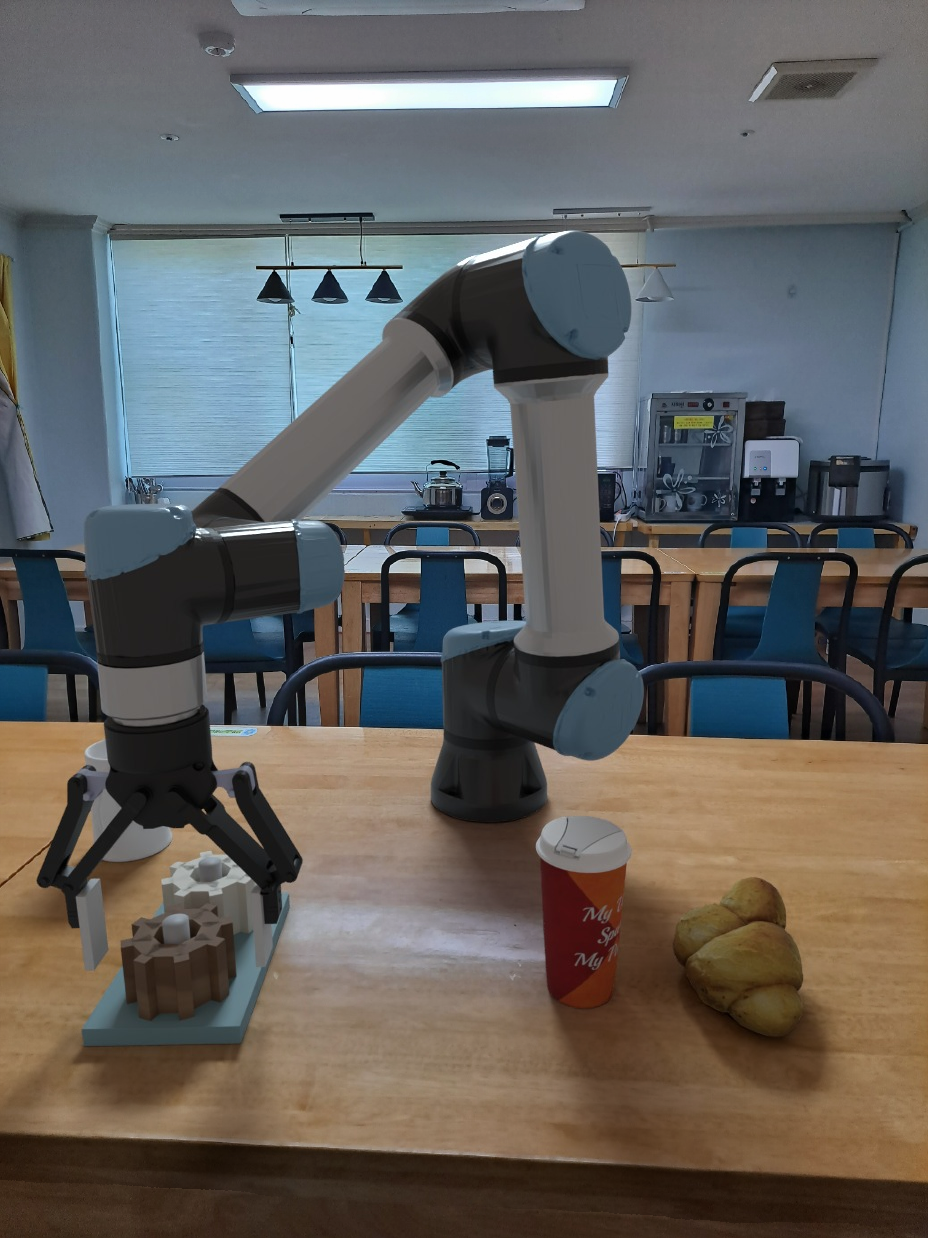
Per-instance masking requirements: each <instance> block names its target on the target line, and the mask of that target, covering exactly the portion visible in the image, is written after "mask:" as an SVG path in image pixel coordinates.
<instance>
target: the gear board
mask: <svg viewBox="0 0 928 1238" xmlns="http://www.w3.org/2000/svg"><path fill="white" fill-rule="evenodd" d="M198 866H199V878H200V882H213V881H216V880H218V879H221V878H222V866H221V859H220V858H218V857H208V858H204V859H202V860H201V861H200V862H199V863H198ZM281 895H282V911H281V914H280V916H279V919H278V922H277V924H271V927H272V941H273V947H272V950H271V953H270V956H269V959H268V961H267V964H266V967H256V959H255V946H254V933H253V930H252V931H251V932H250V933H249V934H247V933H243V932H239V933H237V934H235V935H234V948H235V961H236V974H237V977H233V978H229V979H228V982H229V995H228V996H227V997H226V998H225V999H224V1000H223V1001H222V1002H221V1003H220V1002H216V1001H213V1000H211V1001H209V1002H207V1003H205V1004H203V1005H201V1006H199V1007H197V1008H196V1009H194V1017H192V1018H188V1019H185V1020H181V1021H180V1020H179V1014H158V1015H157V1016H156V1017H155V1018H154V1019H153V1020H151V1021H148V1020H144V1019H141V1018H139V1011H138V1002H135V1003H131V1004H127V1002H126V993H125V983H124V974H123V965H122V964H121V965H122V966H120V968H119V970H118V971H117V973H116V974H115V976H114V978H113V979H112V980H111V983H110V984H109V986H108V987H107V988H106V990H105V992H104V993H103V995H102V997H101V998H100V1000H99V1001H98V1003H97V1004H96V1006H95V1007H94V1009H93V1010H92V1012H91V1014H90V1015H89V1017H88V1019H87V1020H86V1022H85V1023H84V1024H83V1026H82V1027H81V1034H82V1043H83V1044H82V1045H83V1047H106V1046H107V1047H110V1046H111V1047H114V1046H115V1047H117V1046H121V1047H123V1046H163V1045H164V1046H166V1045H167V1046H170V1045H171V1046H172V1045H173V1046H174V1045H218V1044H219V1045H224V1044H226V1045H228V1044H232V1045H233V1044H242V1042H243V1040H244V1036H245V1034H246V1030H247V1028H248V1025H249V1022H250V1019H251V1017H252V1014H253V1011H254V1009H255V1005H256V1003H257V1000H258V998H259V994H260V992H261V989H262V986H263V983H264V980H265V977H266V974H267V972H268V968H269V966H270V963H271V960H272V957H273V954H274V952H275V949H276V946H277V944H278V941H279V937H280V935H281V931H283V930H282V929H283V926H284V925H285V920H286V917H287V915H288V913H289V910H290V907H291V905H290V902H291V901H290V892H281ZM161 914H164V904H163V901H162V902H161V904H160V905H159V907H158V909H157V910H156V912H155V914H154V915H153V917H152V918H154V917H157V916H159V915H161ZM162 926H163V937H164V944H180V943H182V942H184V941H187V940H189V939H190V929H189V918H188V916H187V915H185V914H174V915H170V916H168V917H167V918H165V919H164V920H163V922H162Z"/></svg>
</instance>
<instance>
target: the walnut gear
mask: <svg viewBox="0 0 928 1238" xmlns="http://www.w3.org/2000/svg"><path fill="white" fill-rule="evenodd" d="M174 914H185V915H187V916H188V918H189V929H190V939H189V940H187V941H184V942H182V943H180V944H164V937H163V926H162V922H163V920H164V919H165V918H167V917H168V916H170V915H174ZM153 917H154V916H153ZM153 917H151V918H146V917H141V916H140V918H138V919H136V921H134V922H133V923H131V931H132V933H131V934H132V937H130V938H127V939H122V940H120V954H121V965H123V974H124V983H125V993H126V1002H127V1004H131V1003H135V1002H138V1011H139V1018H141V1019H144V1020H148V1021H151V1020H153V1019H154V1018H155V1017H156V1016H157V1015H158V1014H179V1020H180V1021H181V1020H185V1019H188V1018H192V1017H194V1009H196V1008H197V1007H199V1006H201V1005H203V1004H205V1003H207V1002H209V1001H211V1000H213V1001H216V1002H220V1003H221V1002H222V1001H223V1000H224V999H225V998H226V997H227V996H228V995H229V982H228V979H229V978H233V977H237V974H236V961H235V948H234V934H233V922H232V918H231V916H227V917H223V918H219V917H218V910H217V905H213V904H209V903H206V904H205V905H204V906H202V907H201V908H200V909H181V903H180V904H176V905H171V906H167V912H166V913H164V914H161V915H159V916H157V917H154V918H153Z"/></svg>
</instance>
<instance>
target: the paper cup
mask: <svg viewBox="0 0 928 1238" xmlns="http://www.w3.org/2000/svg"><path fill="white" fill-rule="evenodd" d="M535 849H536V852H537V855H538V856H539V862H540V866H539V867H540V880H541V881H540V884H541V901H542V902H541V903H542V905H541V906H542V921H543V922H542V923H543V925H542V926H543V941H544V942H543V944H544V961H545V976H546V977H545V978H546V985H547V989H548V992H549V994H550V995H551V997H552V998H553V999H555V1000H556V1001H557V1002H559V1003H561V1004H562V1005H564V1006H566V1007H570V1008H575V1009H582V1010H586V1009H595V1008H598V1007H601V1006H603V1005H605V1004H607V1003H608V1002H609V1001H610V999H611V998H612V996H613V993H614V988H615V983H616V974H617V966H618V956H619V945H620V938H621V937H620V935H621V926H622V918H623V917H622V915H623V907H624V905H623V904H624V895H625V884H626V876H627V875H626V874H627V865H628V864H627V863H628V862H629V861H630V860H631V857H632V848H631V845H630V844H629V842H628V838H627V835H626V833H625V831H624V830H623V829H622V828H621V827H619V826H618V825H617V824H615V823H614V822H612V821H609V820H607V819H604V818H600V817H595V816H589V815H567V816H560V817H557V818H555V819H553V820H551V821H548V822H547V823H546V824H545V826H543V828H542V830H541V833H540V836H539V837H538V839H537V841H536V843H535Z"/></svg>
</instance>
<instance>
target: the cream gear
mask: <svg viewBox="0 0 928 1238" xmlns="http://www.w3.org/2000/svg"><path fill="white" fill-rule="evenodd" d="M208 857H218V858H220V859H221V866H222V878H221V879H218V880H216V881H213V882H200V878H199V866H198V863H199V862H200V861H201V860H202V859H204V858H208ZM169 876H170V877H165V878H161V879H160V882H161V890H162V902H163V904H164V913H166V912H167V906H171V905H176V904H180V903H181V909H200V908H201V907H202V906H204V905H205V904H206V903H209V904H213V905H217V910H218V917H219V918H223V917H227V916H231V918H232V922H233V934H234V935H235V934H237V933H239V932H243V933H247V934H249V933H250V932H251V931H252V930H253V919H252V906H251V891H252V889H253V887H254V885H255V882H254V881H253V880H252V879H251V878H250V877H249V876H248V875H247V874H246V873H245V872H244V871H243V870H242V869H241V868H240V867H239V866H238V865H237V864H236V863H235V862H234V861H233V860H232V859H230V858H229V857H228V856H227V855H226V854H225V853H224V854H213V851H212V850H207V851H202V852H199V857H198V858H194V859H192V860H189V861H186V862H184V861H183V862H182V861H178V860H177V861H176V862H174V863H173V864H172V865H170V866H169Z"/></svg>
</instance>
